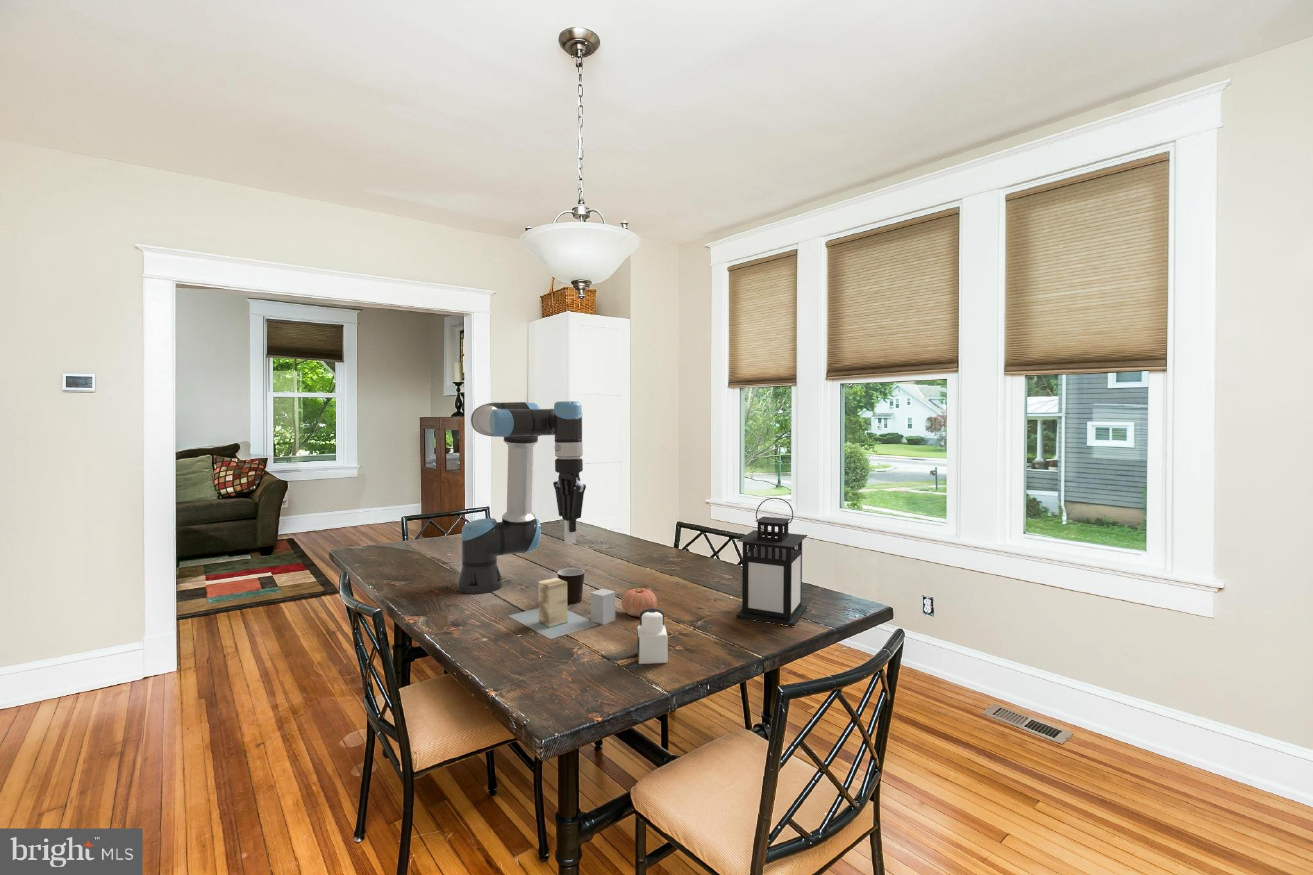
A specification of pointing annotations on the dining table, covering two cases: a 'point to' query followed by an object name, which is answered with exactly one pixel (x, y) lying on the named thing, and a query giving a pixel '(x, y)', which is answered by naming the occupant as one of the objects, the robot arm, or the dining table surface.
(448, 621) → the dining table surface
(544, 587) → the birch block
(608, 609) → the grey painted block
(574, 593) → the coffee mug
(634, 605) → the orange ribbed round piece
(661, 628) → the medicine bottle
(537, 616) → the slate mat
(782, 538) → the lantern
